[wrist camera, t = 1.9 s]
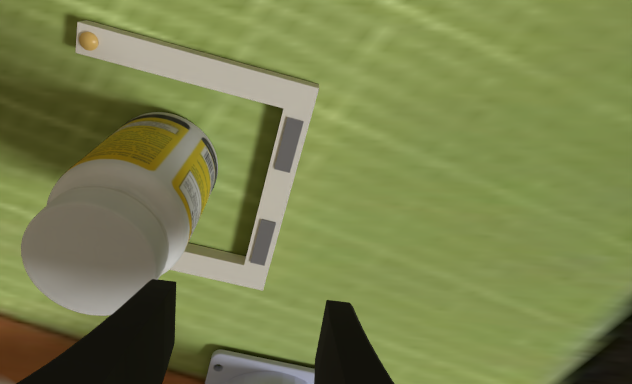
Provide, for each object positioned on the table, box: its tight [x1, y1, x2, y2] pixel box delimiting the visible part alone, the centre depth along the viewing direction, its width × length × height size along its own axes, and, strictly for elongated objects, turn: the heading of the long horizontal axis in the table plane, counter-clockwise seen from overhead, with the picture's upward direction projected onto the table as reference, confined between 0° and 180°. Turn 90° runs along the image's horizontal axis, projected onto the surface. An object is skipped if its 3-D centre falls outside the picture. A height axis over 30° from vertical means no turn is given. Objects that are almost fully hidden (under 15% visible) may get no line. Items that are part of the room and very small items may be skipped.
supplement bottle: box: [21, 112, 218, 316], centre depth 18 cm, size 5×5×8 cm
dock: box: [76, 20, 319, 290], centre depth 21 cm, size 10×10×1 cm
